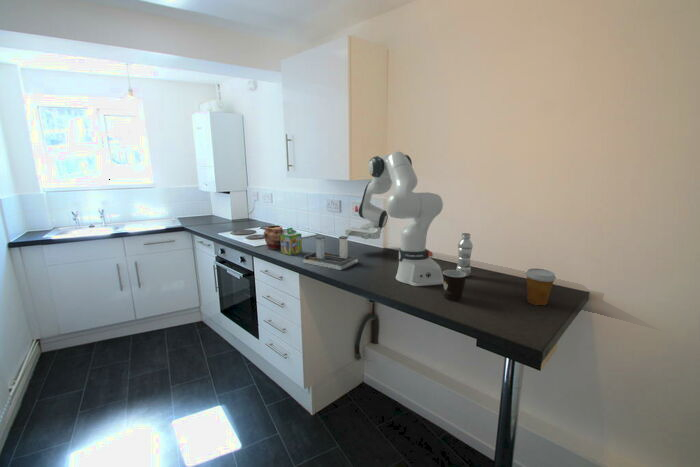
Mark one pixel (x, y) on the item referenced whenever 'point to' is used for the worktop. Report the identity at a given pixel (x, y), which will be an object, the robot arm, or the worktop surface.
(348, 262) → the grey rectangular tray
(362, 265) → the worktop surface
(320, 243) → the cylinder
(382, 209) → the robot arm
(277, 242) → the decorative planter
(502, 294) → the worktop surface
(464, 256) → the plastic bottle
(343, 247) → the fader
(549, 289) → the disposable coffee cup
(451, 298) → the coffee mug
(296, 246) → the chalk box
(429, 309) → the worktop surface
